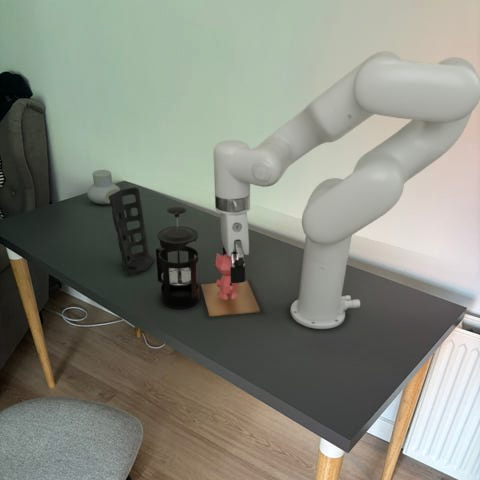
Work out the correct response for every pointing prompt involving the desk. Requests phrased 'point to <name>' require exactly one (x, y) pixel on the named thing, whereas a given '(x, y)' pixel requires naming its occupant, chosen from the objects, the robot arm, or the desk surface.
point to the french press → (177, 264)
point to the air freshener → (102, 187)
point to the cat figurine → (225, 277)
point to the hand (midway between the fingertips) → (233, 272)
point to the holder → (124, 233)
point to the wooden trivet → (229, 300)
